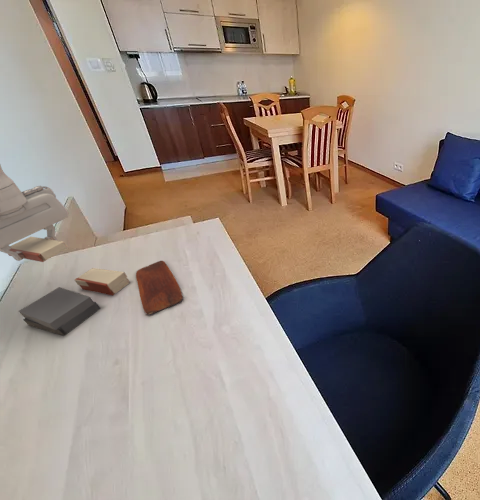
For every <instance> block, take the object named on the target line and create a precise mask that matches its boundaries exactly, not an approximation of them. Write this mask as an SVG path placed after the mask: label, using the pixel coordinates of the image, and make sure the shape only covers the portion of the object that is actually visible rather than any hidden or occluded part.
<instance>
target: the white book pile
mask: <svg viewBox="0 0 480 500" xmlns="http://www.w3.org/2000/svg"><path fill="white" fill-rule="evenodd" d="M74 282H75V283H76V284H77V285H78V286H79V287H80V288H81V289H82V290H84V291H88V292H93V293H98V294H102V295H108V296H113V297H114V296H115V294H117V293H119V291H121V290H122V289H124V288H125V287H126V286H127V285H129V284H130V283H131V282H130V280H129V278H128V276H127V274H126V272H125V271H119V270H111V269H104V268H98V267H97V268H96V267H91V268H90V269H88V270H87V271H86V272H84V273H83V274H80V275H79V276H77V277H76V278H75V279H74Z"/></svg>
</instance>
